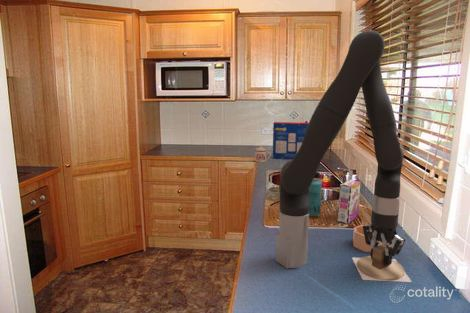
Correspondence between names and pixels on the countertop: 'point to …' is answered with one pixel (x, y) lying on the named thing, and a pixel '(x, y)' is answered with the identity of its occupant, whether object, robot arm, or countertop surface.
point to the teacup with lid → (261, 154)
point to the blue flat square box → (287, 139)
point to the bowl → (361, 239)
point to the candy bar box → (348, 201)
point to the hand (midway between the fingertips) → (380, 262)
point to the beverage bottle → (315, 196)
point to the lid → (380, 266)
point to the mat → (365, 277)
